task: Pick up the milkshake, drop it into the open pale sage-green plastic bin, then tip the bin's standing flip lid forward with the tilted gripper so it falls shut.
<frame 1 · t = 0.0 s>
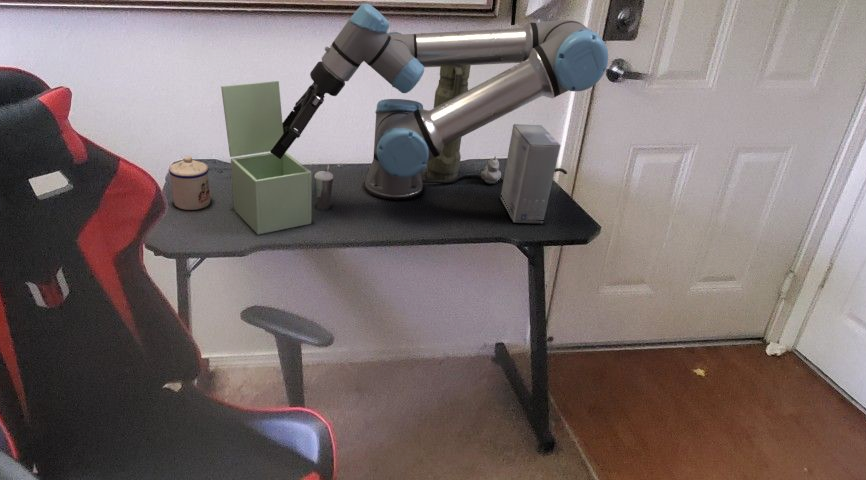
hand: (278, 144, 155), 15 cm above the table, tool tilted 35°, fingers open, 13 cm apart
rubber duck: (489, 183, 184), on the table
bin lid: (254, 119, 153), point 21 cm above the table, hinge at 100.0°
bin: (272, 216, 158), on the table
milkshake: (324, 207, 165), on the table
thermos: (441, 177, 185), on the table
hard drive box: (520, 211, 169), on the table
teacup with lid: (193, 201, 164), on the table
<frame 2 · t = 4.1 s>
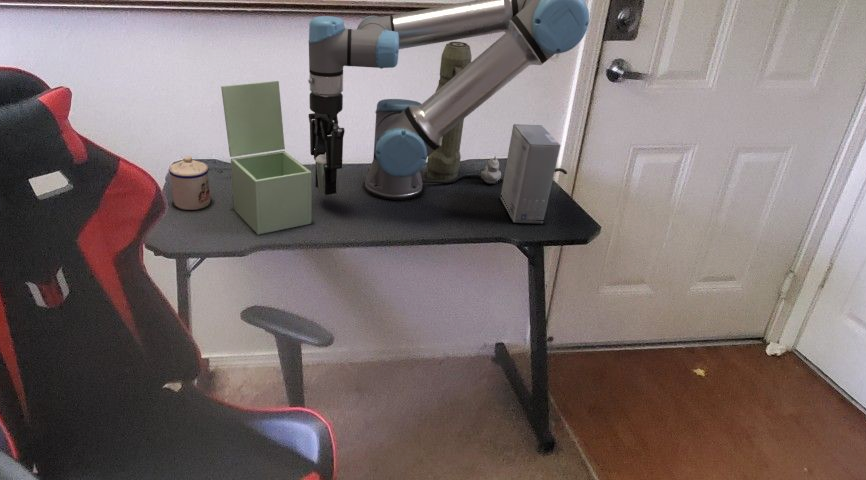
hand: (325, 189, 162), 4 cm above the table, tool pointing down, fingers closed on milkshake, 4 cm apart
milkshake: (326, 191, 163), point 4 cm above the table, touching gripper
everything else where it was.
when the fingers open (10 cm above the table, at t = 8.6 s): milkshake moves 2 cm, point 9 cm above the table.
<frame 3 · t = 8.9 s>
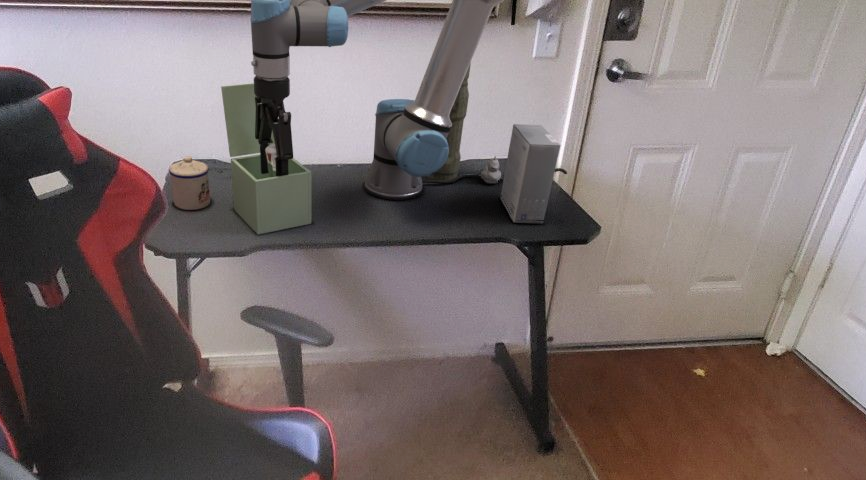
hand: (274, 179, 151), 10 cm above the table, tool pointing down, fingers open, 8 cm apart
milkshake: (277, 184, 151), point 9 cm above the table, touching gripper
everything else where it was.
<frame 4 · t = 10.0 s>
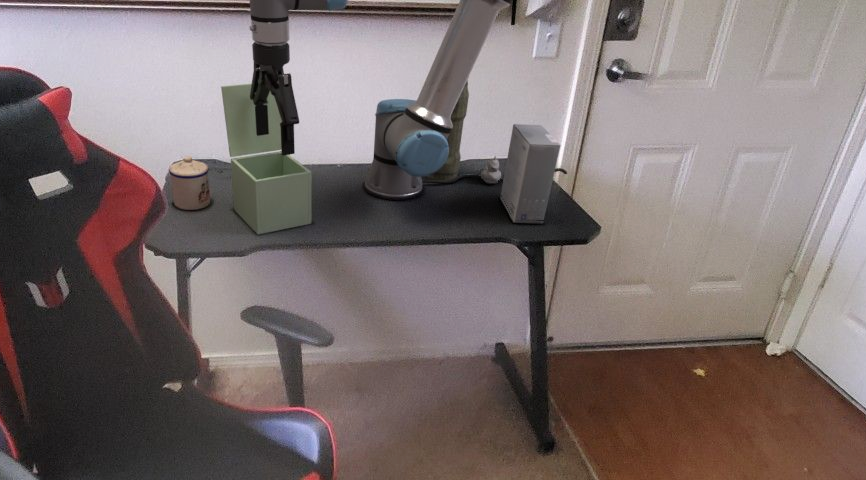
hand: (275, 144, 147), 18 cm above the table, tool pointing down, fingers open, 13 cm apart
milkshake: (279, 218, 156), point 1 cm above the table, touching bin
everything else where it was.
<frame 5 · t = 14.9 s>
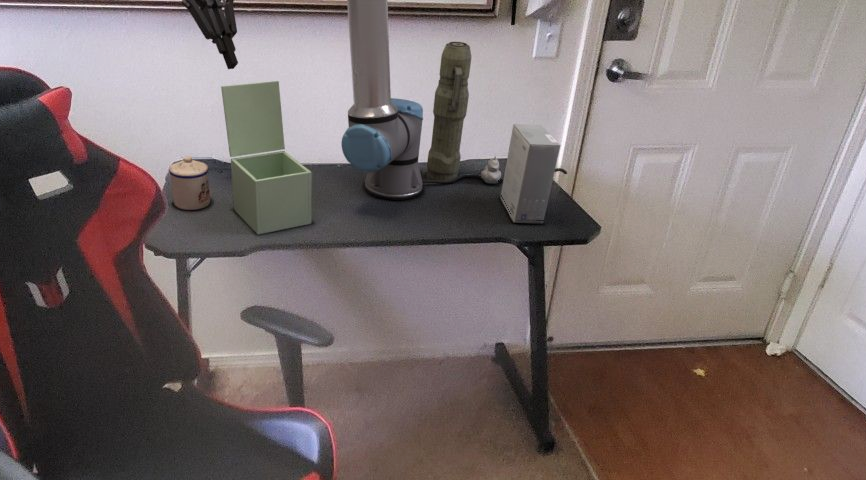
hand: (233, 66, 153), 30 cm above the table, tool tilted 40°, fingers closed
nothing on the table moved.
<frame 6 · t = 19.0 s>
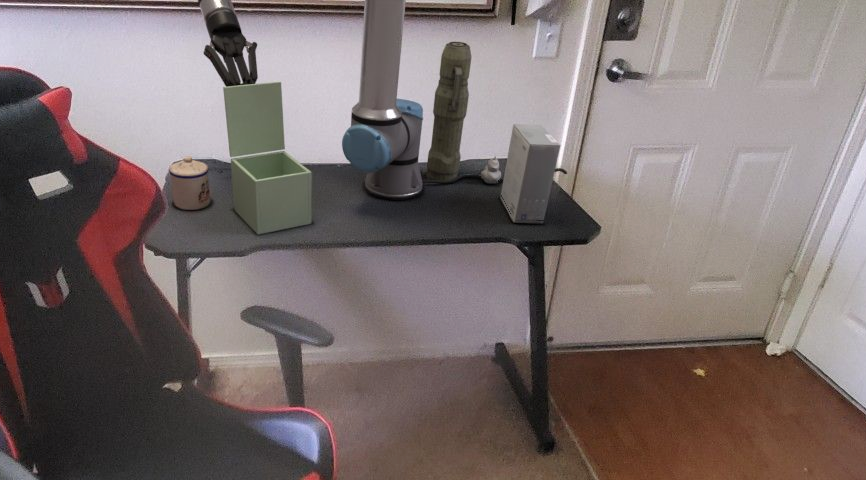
hand: (251, 111, 153), 22 cm above the table, tool tilted 45°, fingers closed
bin lid: (255, 119, 152), point 21 cm above the table, hinge at 95.0°, touching gripper
everything else where it was.
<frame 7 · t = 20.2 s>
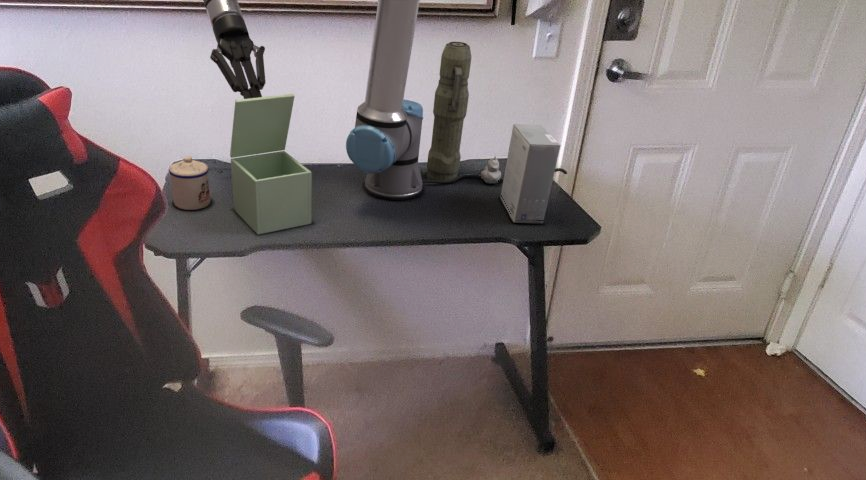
hand: (259, 117, 150), 22 cm above the table, tool tilted 45°, fingers closed
bin lid: (261, 126, 150), point 20 cm above the table, hinge at 68.1°
everything else where it was.
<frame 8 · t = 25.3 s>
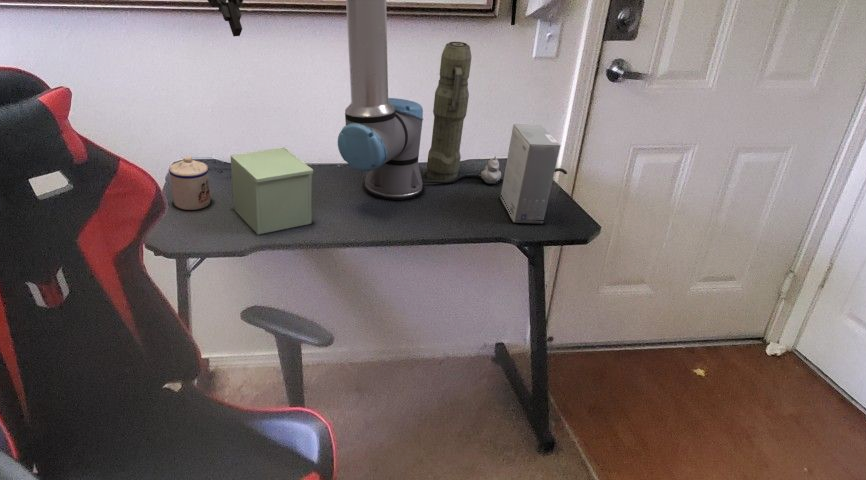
hand: (237, 32, 148), 38 cm above the table, tool tilted 45°, fingers closed
bin lid: (271, 164, 151), point 13 cm above the table, hinge at -0.1°
everything else where it was.
at the end: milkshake inside the target area in the bin (3.1 cm from its centre), point 0.6 cm above the bin's base; bin lid at +0° (first picture: +100°) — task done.
